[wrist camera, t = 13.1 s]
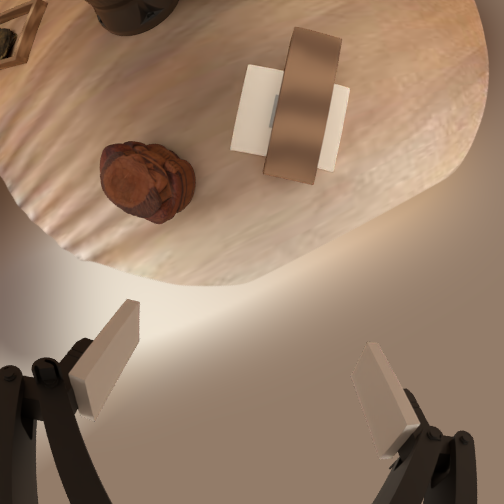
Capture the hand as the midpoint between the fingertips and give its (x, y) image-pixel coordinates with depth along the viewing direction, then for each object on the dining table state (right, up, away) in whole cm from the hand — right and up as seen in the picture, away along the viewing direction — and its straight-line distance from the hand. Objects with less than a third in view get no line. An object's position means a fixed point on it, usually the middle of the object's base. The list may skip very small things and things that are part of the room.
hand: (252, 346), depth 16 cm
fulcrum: (+6, +26, +26) cm, 37 cm away
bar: (+6, +23, +17) cm, 29 cm away
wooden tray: (-56, +53, +18) cm, 79 cm away
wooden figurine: (-13, +18, +29) cm, 37 cm away
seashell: (-58, +53, +19) cm, 80 cm away
